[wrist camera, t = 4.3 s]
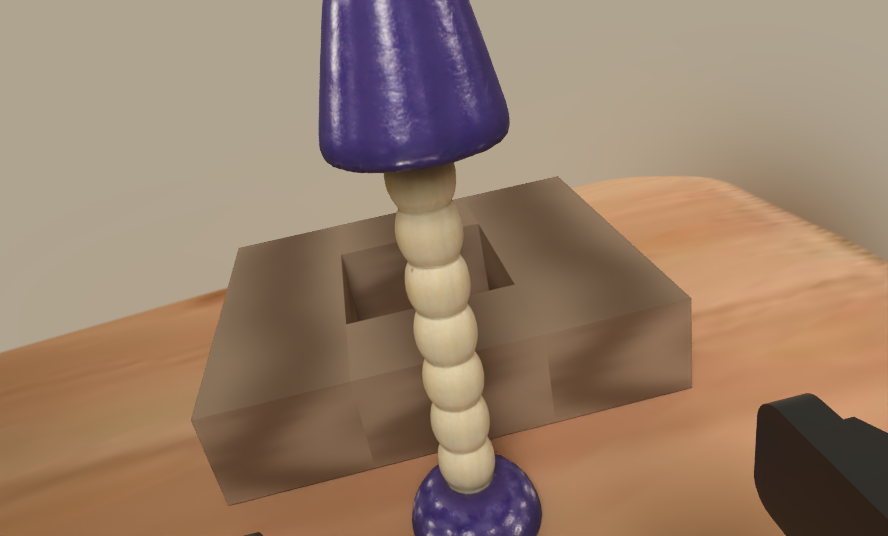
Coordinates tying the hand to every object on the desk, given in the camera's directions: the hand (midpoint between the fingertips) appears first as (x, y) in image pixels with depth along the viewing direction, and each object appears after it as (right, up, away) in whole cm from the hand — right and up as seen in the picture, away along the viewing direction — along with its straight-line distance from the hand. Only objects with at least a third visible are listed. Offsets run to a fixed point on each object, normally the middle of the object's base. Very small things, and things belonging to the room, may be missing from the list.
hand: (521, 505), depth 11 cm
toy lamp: (0, -4, +12) cm, 12 cm away
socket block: (-2, 0, +21) cm, 21 cm away
